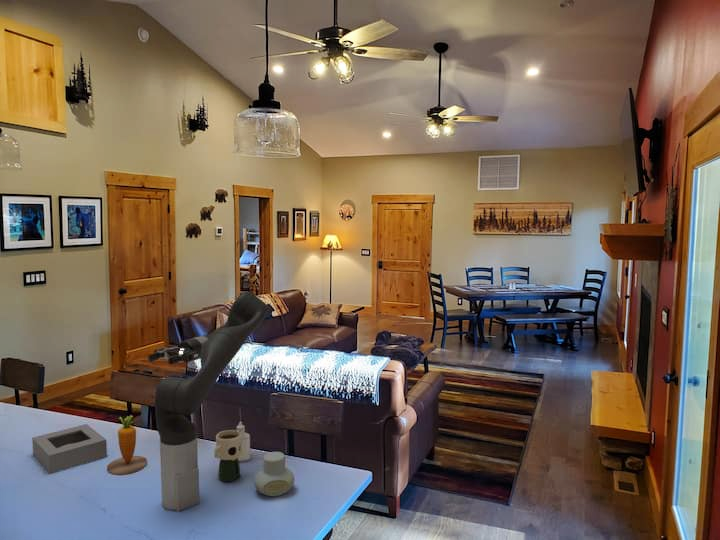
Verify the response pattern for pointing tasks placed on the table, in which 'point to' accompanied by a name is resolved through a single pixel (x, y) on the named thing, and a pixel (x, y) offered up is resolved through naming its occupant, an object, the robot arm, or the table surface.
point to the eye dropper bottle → (244, 443)
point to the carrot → (127, 439)
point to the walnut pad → (127, 465)
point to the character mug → (228, 454)
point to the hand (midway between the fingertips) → (159, 359)
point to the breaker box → (69, 448)
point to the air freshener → (274, 475)
